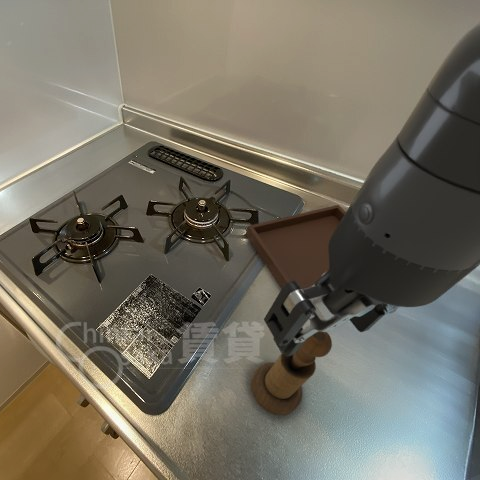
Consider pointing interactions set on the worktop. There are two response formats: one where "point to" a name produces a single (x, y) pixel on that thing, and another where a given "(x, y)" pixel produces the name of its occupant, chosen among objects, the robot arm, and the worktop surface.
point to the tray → (296, 244)
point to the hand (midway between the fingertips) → (320, 334)
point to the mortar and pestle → (288, 375)
